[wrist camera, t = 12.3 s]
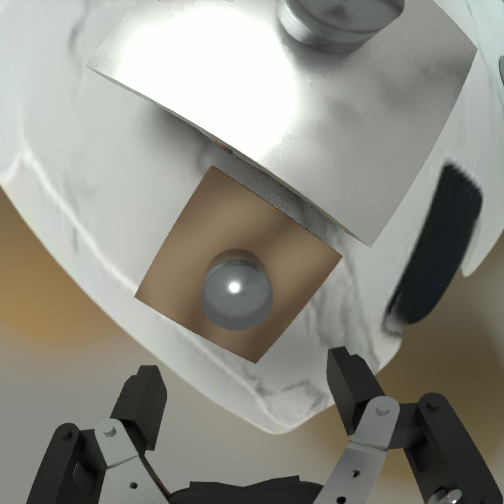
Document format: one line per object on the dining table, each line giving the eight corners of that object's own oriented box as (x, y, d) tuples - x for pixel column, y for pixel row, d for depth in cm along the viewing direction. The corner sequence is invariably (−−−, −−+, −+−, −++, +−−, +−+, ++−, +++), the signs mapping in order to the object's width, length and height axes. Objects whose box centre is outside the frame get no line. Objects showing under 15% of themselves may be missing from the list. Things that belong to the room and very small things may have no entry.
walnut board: (336, 251, 24) (342, 256, 23) (254, 354, 27) (255, 363, 25) (213, 166, 21) (211, 165, 20) (139, 290, 24) (134, 296, 23)
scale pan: (453, 57, 13) (477, 48, 10) (347, 233, 17) (370, 247, 13) (267, -68, 9) (272, -91, 6) (108, 80, 13) (85, 65, 10)
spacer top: (278, 270, 23) (287, 290, 19) (244, 315, 24) (246, 341, 20) (227, 236, 22) (226, 251, 18) (194, 285, 23) (187, 308, 19)
